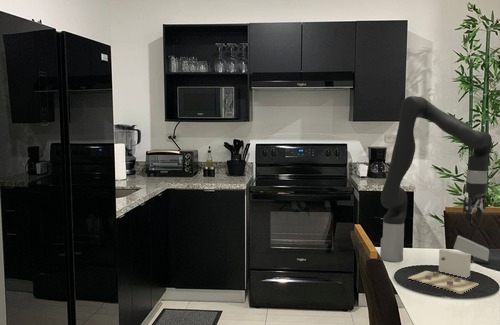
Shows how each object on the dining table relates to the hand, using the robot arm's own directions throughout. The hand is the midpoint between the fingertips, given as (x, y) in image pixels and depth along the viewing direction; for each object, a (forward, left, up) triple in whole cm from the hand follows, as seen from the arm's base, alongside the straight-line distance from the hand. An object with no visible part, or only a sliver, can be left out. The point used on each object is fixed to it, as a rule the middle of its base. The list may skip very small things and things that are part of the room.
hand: (473, 221), depth 201 cm
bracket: (-19, +22, -17) cm, 33 cm away
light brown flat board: (-5, -14, -24) cm, 28 cm away
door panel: (-7, -1, -24) cm, 25 cm away
